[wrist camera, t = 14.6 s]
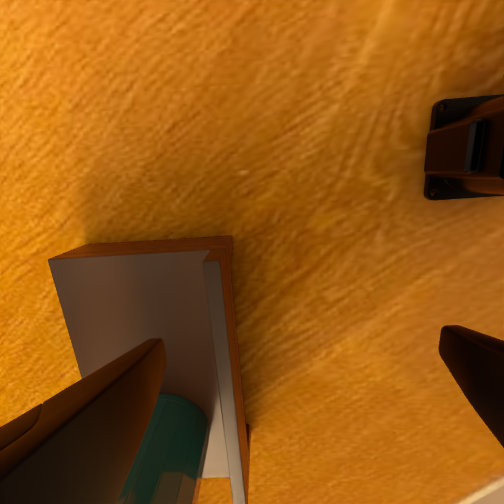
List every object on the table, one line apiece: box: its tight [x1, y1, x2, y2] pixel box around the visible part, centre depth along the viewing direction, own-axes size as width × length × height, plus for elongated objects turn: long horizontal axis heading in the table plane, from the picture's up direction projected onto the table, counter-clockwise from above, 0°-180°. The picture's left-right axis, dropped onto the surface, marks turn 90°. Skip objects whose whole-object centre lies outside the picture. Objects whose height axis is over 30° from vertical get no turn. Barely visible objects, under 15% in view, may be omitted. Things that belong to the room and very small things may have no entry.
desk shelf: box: [48, 236, 251, 504], centre depth 21 cm, size 12×20×6 cm, turn 4°
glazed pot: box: [117, 394, 210, 504], centre depth 18 cm, size 7×7×8 cm
